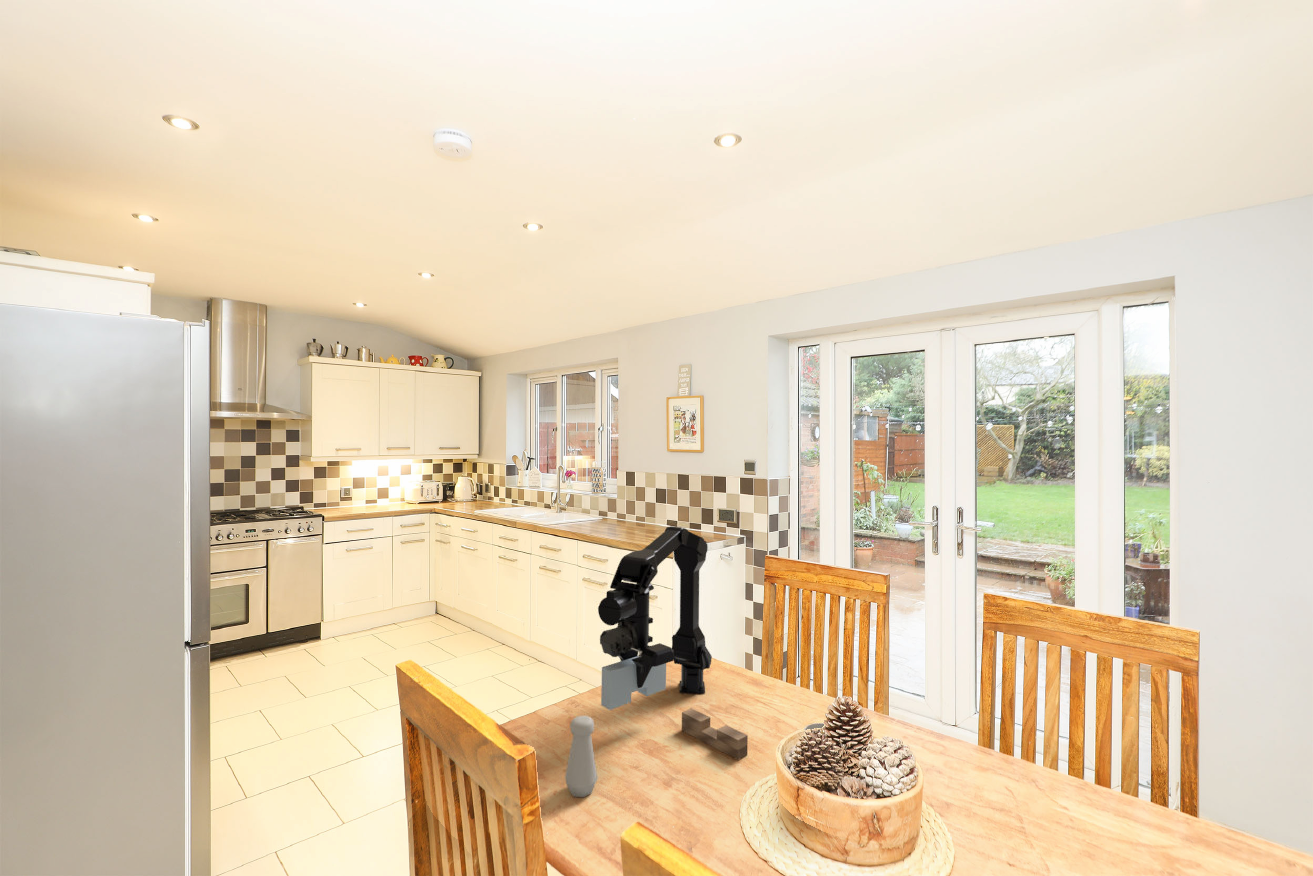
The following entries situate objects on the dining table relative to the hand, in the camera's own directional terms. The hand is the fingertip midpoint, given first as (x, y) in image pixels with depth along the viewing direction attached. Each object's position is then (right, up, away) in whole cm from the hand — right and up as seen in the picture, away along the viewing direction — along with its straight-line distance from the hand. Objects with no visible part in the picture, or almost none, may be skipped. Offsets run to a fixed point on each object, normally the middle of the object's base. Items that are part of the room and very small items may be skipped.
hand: (634, 685), depth 127 cm
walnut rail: (+17, -11, -4) cm, 20 cm away
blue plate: (0, -3, 0) cm, 3 cm away
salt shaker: (-9, -10, -22) cm, 26 cm away
